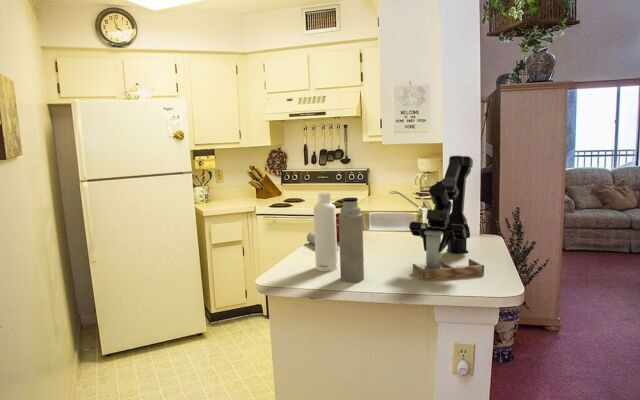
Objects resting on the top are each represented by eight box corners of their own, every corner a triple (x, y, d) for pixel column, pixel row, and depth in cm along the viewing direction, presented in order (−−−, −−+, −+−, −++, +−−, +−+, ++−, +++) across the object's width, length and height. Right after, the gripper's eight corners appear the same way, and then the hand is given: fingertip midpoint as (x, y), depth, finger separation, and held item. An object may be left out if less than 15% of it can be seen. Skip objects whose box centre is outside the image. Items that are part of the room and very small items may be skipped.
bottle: (312, 266, 167) (309, 193, 163) (332, 263, 171) (329, 191, 167) (321, 272, 160) (318, 195, 156) (341, 269, 163) (338, 193, 159)
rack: (470, 267, 160) (470, 258, 159) (483, 274, 151) (484, 265, 150) (412, 272, 156) (412, 263, 155) (422, 280, 147) (422, 270, 147)
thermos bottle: (344, 274, 157) (341, 196, 153) (366, 276, 154) (364, 196, 150) (337, 281, 149) (335, 199, 145) (360, 283, 147) (358, 199, 143)
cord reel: (433, 265, 156) (433, 229, 154) (446, 269, 151) (446, 232, 149) (420, 268, 153) (420, 231, 151) (433, 272, 148) (433, 234, 146)
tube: (341, 244, 185) (318, 233, 207) (330, 242, 182) (308, 230, 205) (338, 257, 185) (315, 244, 208) (327, 254, 183) (305, 242, 205)
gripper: (410, 199, 157) (399, 236, 149) (464, 201, 147) (456, 240, 140) (417, 216, 165) (408, 253, 157) (469, 220, 155) (461, 258, 147)
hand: (432, 251), depth 150 cm, fingers closed on cord reel, 5 cm apart
